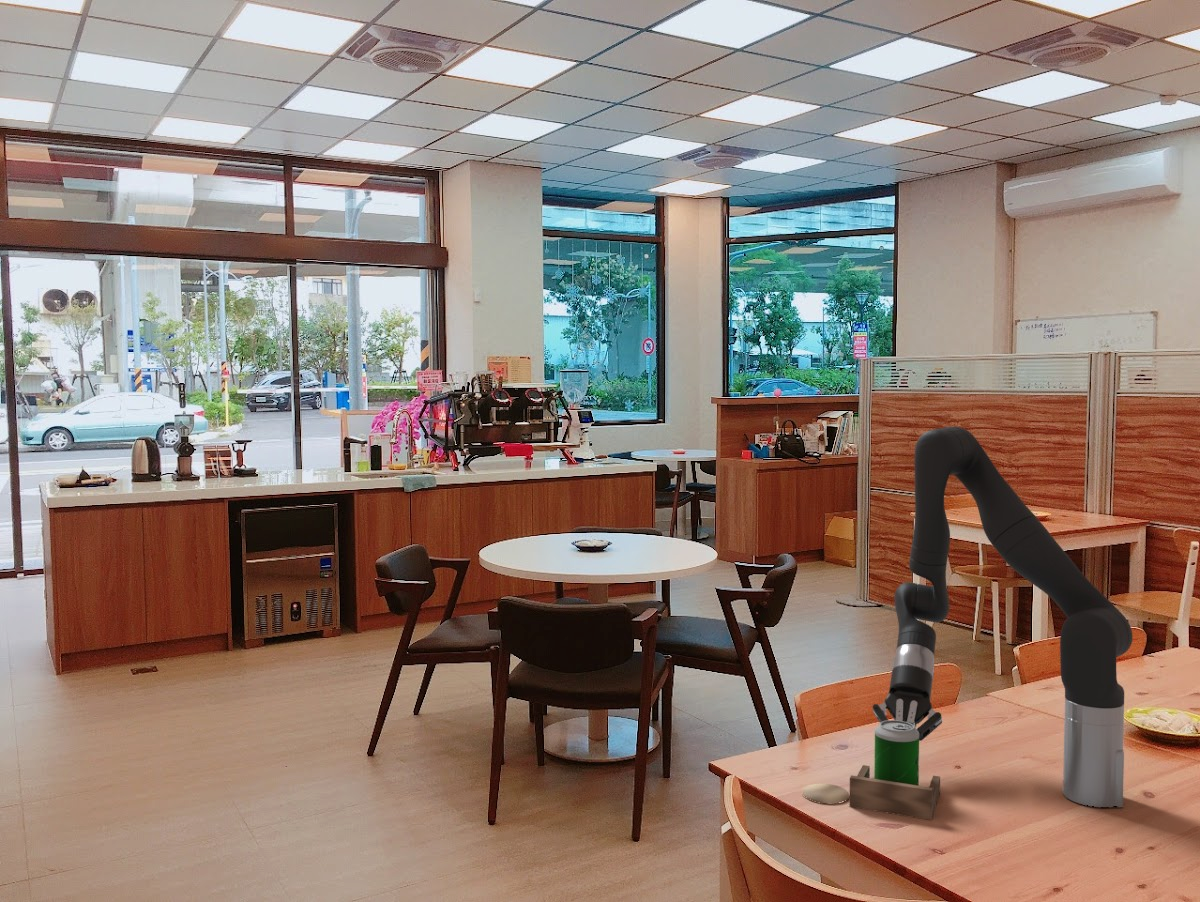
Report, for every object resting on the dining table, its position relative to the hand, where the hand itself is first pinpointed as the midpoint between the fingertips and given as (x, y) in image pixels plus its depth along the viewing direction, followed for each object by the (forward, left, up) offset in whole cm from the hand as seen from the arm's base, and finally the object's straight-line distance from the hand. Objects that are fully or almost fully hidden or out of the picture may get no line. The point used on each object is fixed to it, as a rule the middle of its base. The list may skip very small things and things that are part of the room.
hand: (901, 757), depth 179 cm
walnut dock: (0, +8, -5) cm, 9 cm away
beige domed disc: (+11, +11, -5) cm, 16 cm away
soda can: (0, +4, -5) cm, 7 cm away
